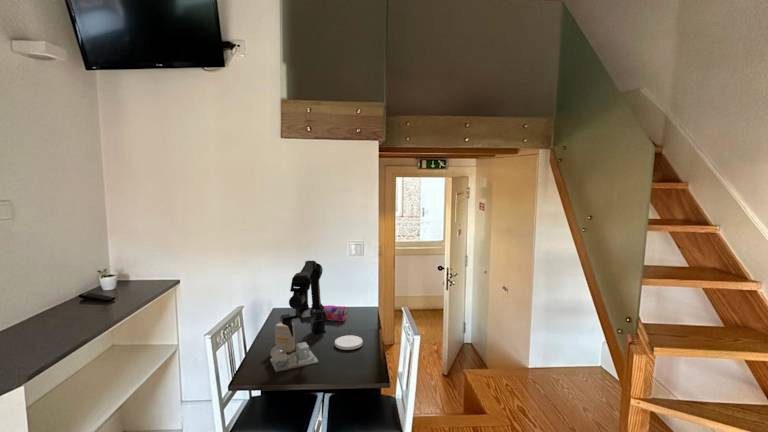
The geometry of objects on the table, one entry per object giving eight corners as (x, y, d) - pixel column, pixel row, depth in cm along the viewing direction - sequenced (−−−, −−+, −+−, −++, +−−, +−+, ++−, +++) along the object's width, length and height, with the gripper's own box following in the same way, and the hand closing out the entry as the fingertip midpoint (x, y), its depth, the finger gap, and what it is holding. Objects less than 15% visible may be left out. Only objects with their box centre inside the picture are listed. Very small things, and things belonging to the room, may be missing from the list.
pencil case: (308, 321, 227) (308, 306, 226) (315, 315, 236) (315, 301, 236) (343, 324, 222) (343, 309, 221) (348, 318, 231) (348, 304, 230)
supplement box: (295, 349, 188) (294, 323, 187) (290, 353, 184) (289, 327, 182) (281, 346, 191) (280, 321, 190) (275, 350, 186) (274, 324, 185)
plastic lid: (363, 339, 200) (363, 335, 200) (362, 351, 186) (362, 346, 186) (336, 340, 200) (336, 335, 199) (333, 352, 186) (333, 347, 186)
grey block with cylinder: (305, 354, 180) (305, 341, 180) (310, 361, 173) (310, 348, 173) (296, 356, 178) (296, 343, 178) (300, 363, 171) (300, 350, 171)
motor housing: (310, 352, 185) (310, 338, 184) (318, 362, 174) (317, 347, 173) (270, 360, 176) (269, 346, 175) (275, 372, 165) (275, 356, 165)
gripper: (285, 310, 163) (286, 345, 164) (326, 303, 172) (327, 337, 173) (279, 302, 173) (280, 336, 174) (319, 297, 182) (319, 328, 183)
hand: (302, 334), depth 176 cm, fingers open, 9 cm apart
